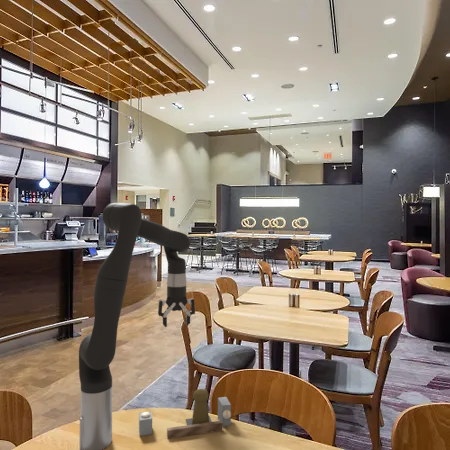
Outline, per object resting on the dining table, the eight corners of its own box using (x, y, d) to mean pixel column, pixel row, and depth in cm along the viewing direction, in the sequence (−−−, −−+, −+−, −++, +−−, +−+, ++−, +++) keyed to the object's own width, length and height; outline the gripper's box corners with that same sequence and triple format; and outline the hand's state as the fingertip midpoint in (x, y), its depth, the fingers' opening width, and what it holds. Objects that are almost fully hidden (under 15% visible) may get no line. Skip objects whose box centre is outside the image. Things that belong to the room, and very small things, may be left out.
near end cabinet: (139, 435, 118) (139, 418, 118) (138, 427, 123) (138, 411, 123) (152, 434, 119) (152, 417, 119) (151, 426, 124) (151, 409, 124)
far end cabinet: (222, 427, 123) (222, 406, 123) (217, 417, 129) (217, 397, 129) (231, 426, 124) (231, 405, 124) (226, 416, 130) (226, 396, 130)
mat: (189, 433, 119) (189, 432, 119) (185, 420, 128) (185, 419, 128) (214, 429, 122) (214, 428, 122) (209, 417, 130) (209, 415, 130)
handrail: (167, 438, 116) (167, 430, 116) (166, 435, 118) (167, 428, 118) (222, 430, 121) (222, 422, 121) (221, 428, 123) (221, 420, 123)
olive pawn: (209, 418, 128) (209, 386, 128) (209, 427, 122) (209, 394, 122) (192, 418, 128) (192, 386, 128) (191, 428, 122) (191, 394, 122)
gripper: (159, 286, 139) (159, 329, 139) (196, 285, 143) (196, 327, 143) (157, 283, 146) (157, 324, 146) (192, 282, 150) (192, 322, 150)
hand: (176, 325), depth 145 cm, fingers open, 8 cm apart
